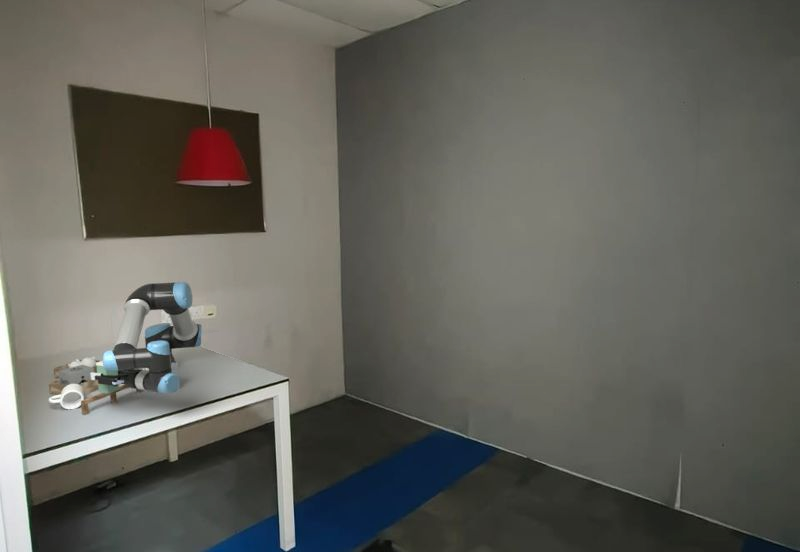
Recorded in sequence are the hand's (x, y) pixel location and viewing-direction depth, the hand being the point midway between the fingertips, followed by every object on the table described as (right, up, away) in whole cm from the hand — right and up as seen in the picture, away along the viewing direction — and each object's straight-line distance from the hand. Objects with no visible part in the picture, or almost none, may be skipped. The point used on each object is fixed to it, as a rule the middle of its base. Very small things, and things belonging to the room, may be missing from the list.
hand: (98, 373), depth 194 cm
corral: (-29, -11, +35) cm, 47 cm away
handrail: (+1, -14, +9) cm, 16 cm away
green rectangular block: (+5, -7, -1) cm, 8 cm away
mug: (-16, -15, +5) cm, 22 cm away
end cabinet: (+13, -12, +24) cm, 30 cm away
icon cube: (-23, -13, +23) cm, 35 cm away
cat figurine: (-38, -10, +48) cm, 62 cm away
